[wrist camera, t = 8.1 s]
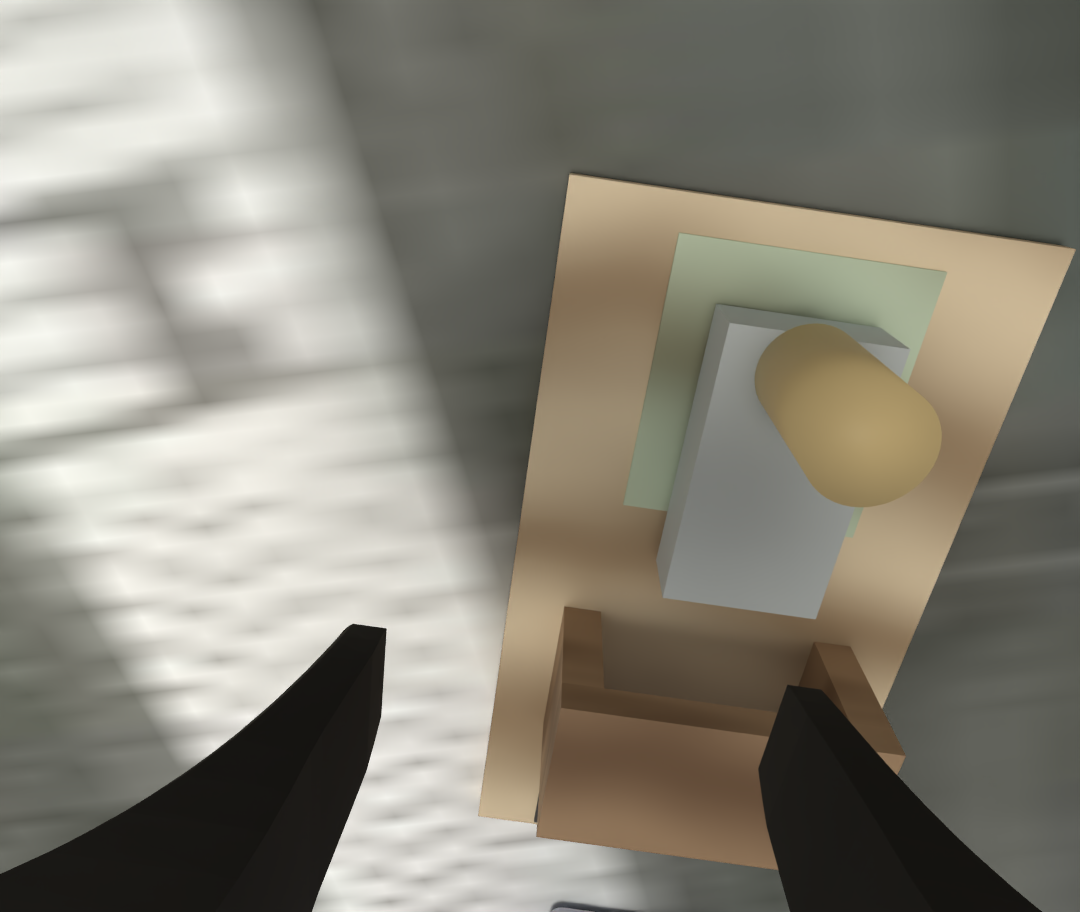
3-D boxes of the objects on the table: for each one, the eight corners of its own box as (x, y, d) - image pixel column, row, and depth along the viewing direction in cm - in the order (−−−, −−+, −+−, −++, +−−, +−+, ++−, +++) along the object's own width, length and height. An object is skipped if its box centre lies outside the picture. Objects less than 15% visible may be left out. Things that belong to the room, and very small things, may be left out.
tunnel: (807, 759, 27) (849, 879, 23) (543, 722, 27) (536, 836, 22) (850, 646, 25) (905, 755, 20) (564, 606, 25) (560, 707, 20)
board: (812, 848, 29) (818, 865, 29) (479, 803, 29) (477, 818, 29) (1062, 245, 20) (1078, 249, 19) (570, 172, 20) (569, 174, 19)
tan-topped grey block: (797, 579, 23) (869, 735, 18) (656, 559, 23) (681, 709, 17) (884, 316, 20) (1009, 401, 14) (718, 292, 20) (776, 367, 14)
